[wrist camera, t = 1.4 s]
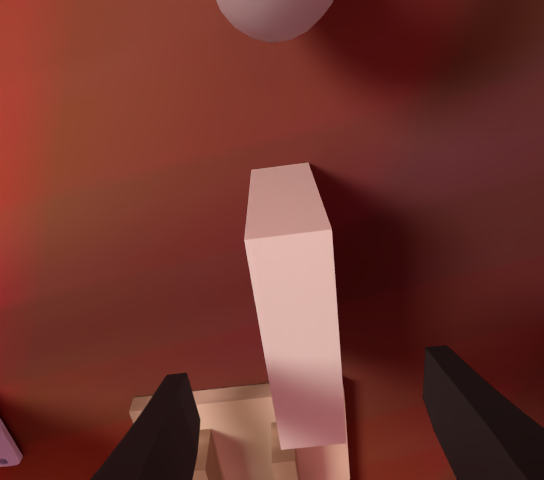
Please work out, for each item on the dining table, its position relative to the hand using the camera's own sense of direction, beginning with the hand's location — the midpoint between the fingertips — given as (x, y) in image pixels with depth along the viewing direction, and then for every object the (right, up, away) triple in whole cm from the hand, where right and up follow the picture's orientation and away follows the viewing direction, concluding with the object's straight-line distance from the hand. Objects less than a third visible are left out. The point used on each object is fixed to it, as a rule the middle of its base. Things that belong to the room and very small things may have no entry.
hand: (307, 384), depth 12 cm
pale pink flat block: (0, +4, +7) cm, 8 cm away
